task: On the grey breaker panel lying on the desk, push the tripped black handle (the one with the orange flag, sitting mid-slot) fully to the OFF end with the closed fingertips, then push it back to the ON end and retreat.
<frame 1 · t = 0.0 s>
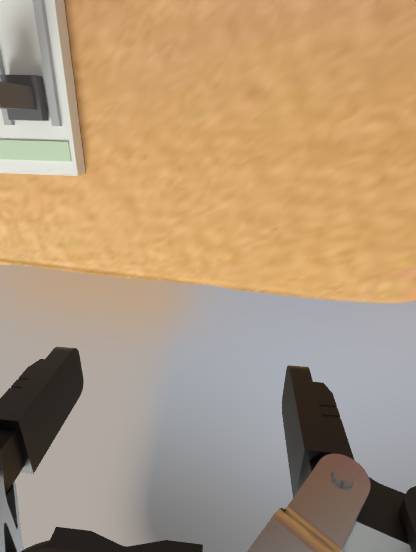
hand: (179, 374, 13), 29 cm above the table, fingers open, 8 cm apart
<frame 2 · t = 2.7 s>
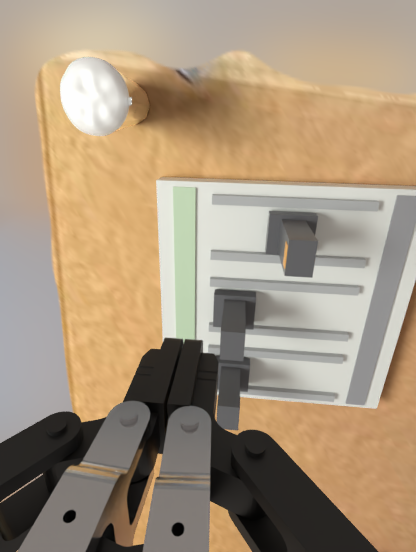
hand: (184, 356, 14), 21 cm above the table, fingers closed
milkshake: (136, 104, 30), on the table
panel: (277, 298, 36), on the table
tripped breaker: (294, 243, 27), point 6 cm above the table, slide at 0.0 cm
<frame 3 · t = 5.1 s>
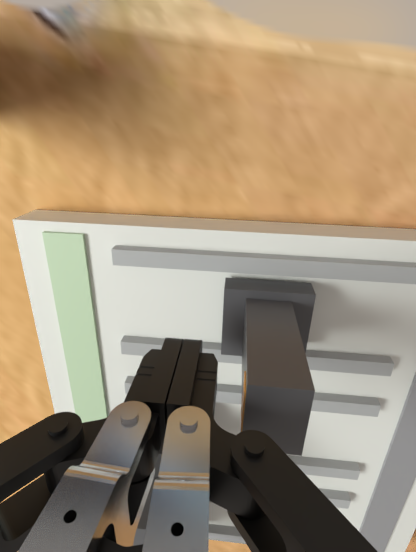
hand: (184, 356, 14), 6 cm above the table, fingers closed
panel: (245, 400, 22), on the table
tripped breaker: (268, 355, 14), point 6 cm above the table, slide at -0.4 cm, touching gripper
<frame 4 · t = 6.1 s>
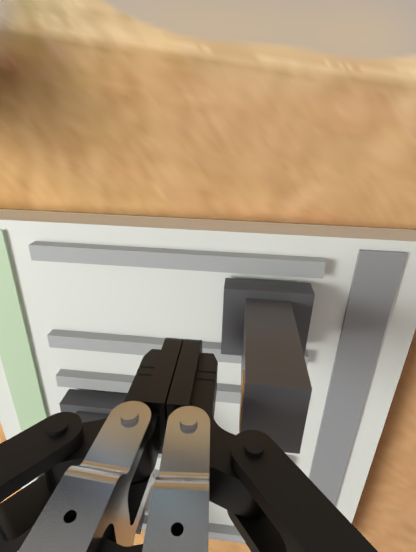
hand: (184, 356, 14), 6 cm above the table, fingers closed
panel: (182, 393, 23), on the table
tripped breaker: (267, 354, 14), point 6 cm above the table, slide at -4.5 cm, touching gripper
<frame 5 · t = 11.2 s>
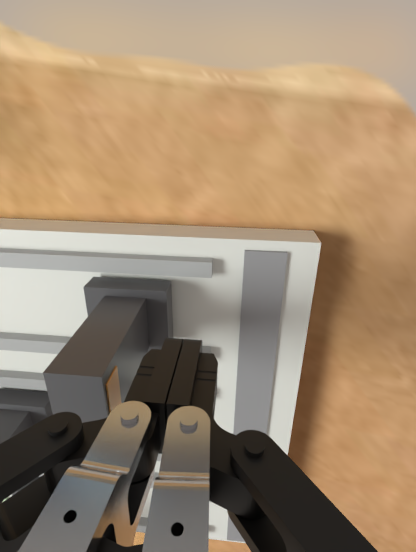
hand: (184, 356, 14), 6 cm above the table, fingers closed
panel: (110, 391, 23), on the table
tripped breaker: (112, 348, 15), point 6 cm above the table, slide at -3.0 cm, touching gripper
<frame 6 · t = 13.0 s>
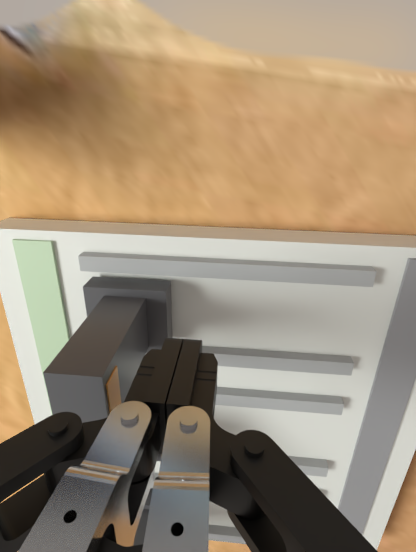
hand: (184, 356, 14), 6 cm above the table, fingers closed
panel: (218, 400, 23), on the table
tripped breaker: (111, 348, 15), point 6 cm above the table, slide at 4.5 cm, touching gripper
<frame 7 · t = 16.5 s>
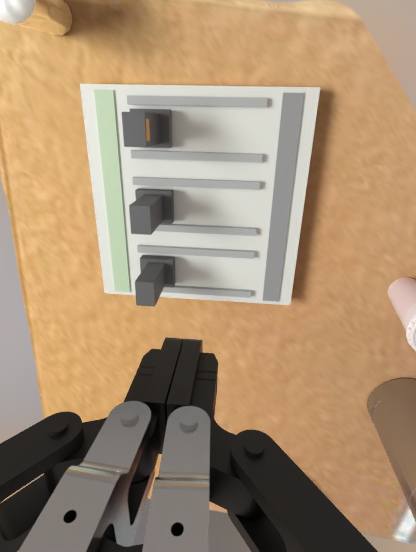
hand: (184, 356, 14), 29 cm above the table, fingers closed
smoothie: (402, 289, 43), on the table
milkshake: (62, 17, 34), on the table
panel: (198, 202, 41), on the table
tripped breaker: (144, 129, 32), point 6 cm above the table, slide at 4.5 cm
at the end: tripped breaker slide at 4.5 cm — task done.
